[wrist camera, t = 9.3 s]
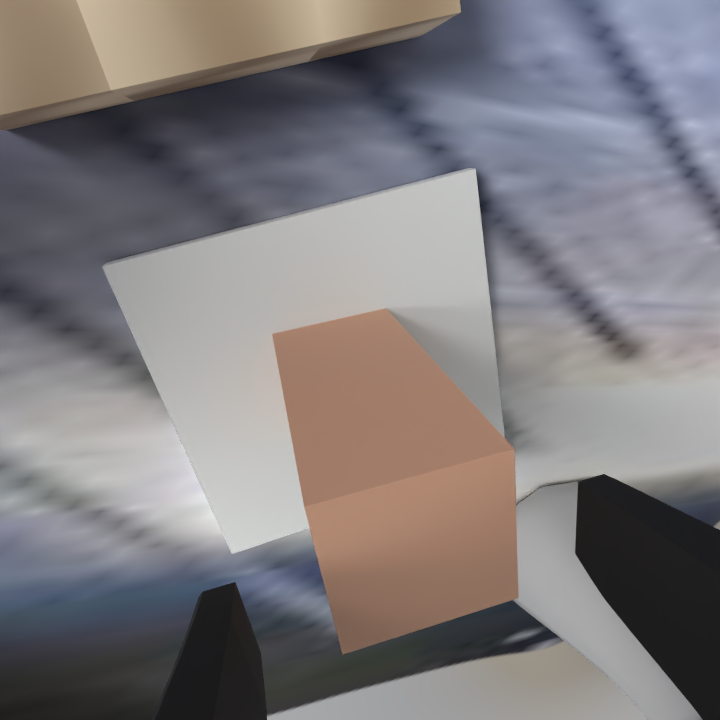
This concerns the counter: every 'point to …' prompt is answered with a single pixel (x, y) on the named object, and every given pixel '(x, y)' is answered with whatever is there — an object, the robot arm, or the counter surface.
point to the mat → (299, 309)
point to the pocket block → (177, 45)
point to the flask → (584, 604)
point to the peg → (396, 480)
